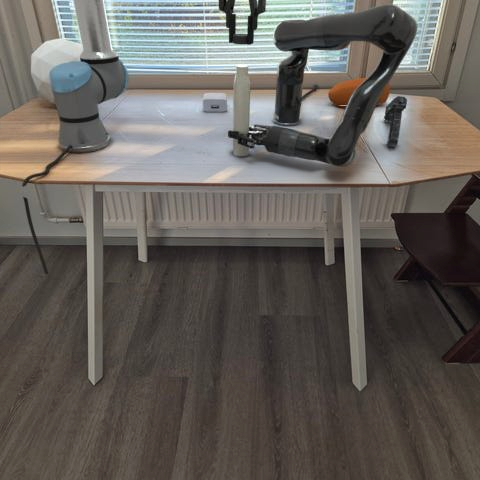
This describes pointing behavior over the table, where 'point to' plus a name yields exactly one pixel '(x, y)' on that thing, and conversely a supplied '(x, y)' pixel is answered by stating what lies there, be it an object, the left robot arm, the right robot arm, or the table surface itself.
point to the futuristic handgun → (395, 118)
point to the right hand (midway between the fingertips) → (233, 130)
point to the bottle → (241, 107)
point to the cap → (239, 38)
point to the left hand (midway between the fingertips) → (241, 42)
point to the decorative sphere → (52, 62)
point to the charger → (215, 102)
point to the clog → (351, 92)
